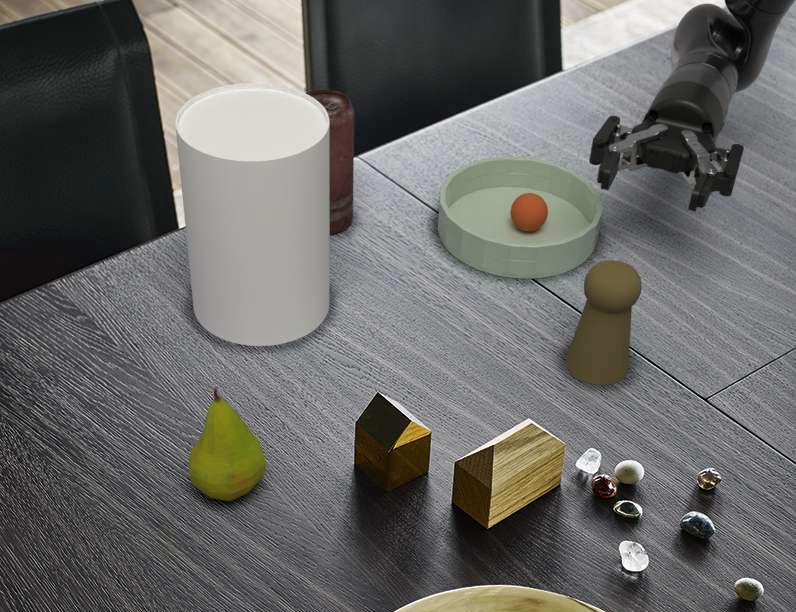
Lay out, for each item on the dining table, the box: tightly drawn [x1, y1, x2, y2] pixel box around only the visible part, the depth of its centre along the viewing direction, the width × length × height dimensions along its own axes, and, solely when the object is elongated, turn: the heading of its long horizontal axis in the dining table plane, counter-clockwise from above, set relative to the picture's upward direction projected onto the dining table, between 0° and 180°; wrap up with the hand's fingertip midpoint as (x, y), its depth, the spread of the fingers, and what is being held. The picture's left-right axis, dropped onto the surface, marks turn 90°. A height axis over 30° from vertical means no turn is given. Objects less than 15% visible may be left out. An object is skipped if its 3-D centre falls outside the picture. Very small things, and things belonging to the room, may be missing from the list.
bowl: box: [437, 155, 604, 280], centre depth 134 cm, size 17×17×4 cm
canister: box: [174, 82, 331, 347], centre depth 118 cm, size 14×14×20 cm
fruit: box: [188, 386, 267, 502], centre depth 103 cm, size 6×6×12 cm
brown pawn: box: [565, 259, 643, 386], centre depth 117 cm, size 6×6×11 cm
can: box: [305, 88, 355, 236], centre depth 131 cm, size 6×6×14 cm
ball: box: [510, 193, 548, 231], centre depth 134 cm, size 4×4×4 cm
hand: (649, 192), depth 118 cm, fingers open, 8 cm apart
